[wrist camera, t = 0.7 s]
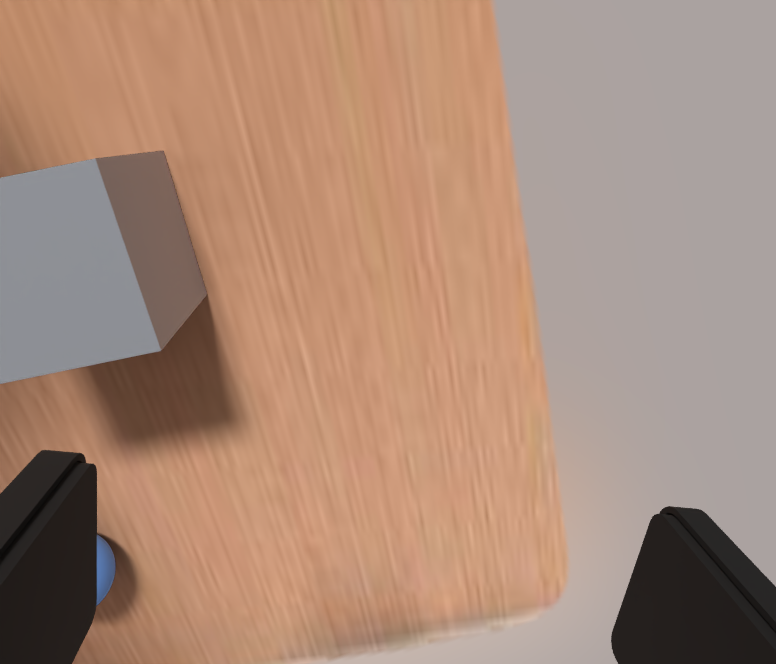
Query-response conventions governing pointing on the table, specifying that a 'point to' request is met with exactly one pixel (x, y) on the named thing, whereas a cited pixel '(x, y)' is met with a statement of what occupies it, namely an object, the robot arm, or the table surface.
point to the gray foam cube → (92, 264)
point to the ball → (104, 568)
